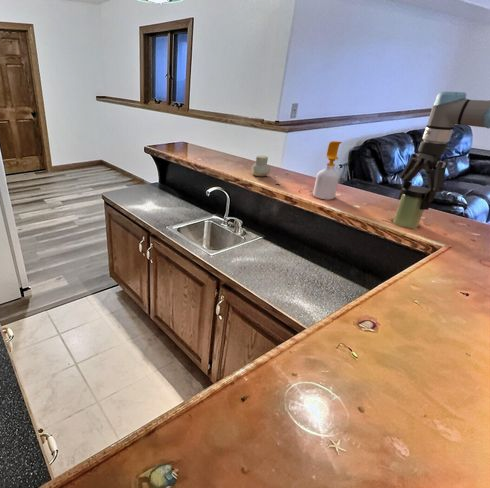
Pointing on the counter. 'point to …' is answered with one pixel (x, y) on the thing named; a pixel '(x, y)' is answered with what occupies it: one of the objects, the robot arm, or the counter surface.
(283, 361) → the counter surface
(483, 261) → the counter surface
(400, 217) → the jar
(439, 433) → the counter surface
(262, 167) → the air freshener
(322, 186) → the soap bottle
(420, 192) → the lid
